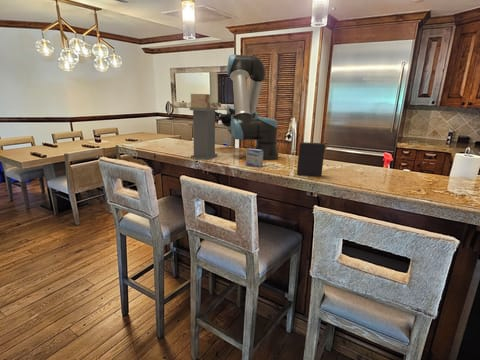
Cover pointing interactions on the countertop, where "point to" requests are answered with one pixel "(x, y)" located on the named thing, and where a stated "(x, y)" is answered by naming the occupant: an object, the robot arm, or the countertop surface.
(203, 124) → the grey tall block
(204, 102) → the mallet
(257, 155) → the medicine box
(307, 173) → the dark upright panel
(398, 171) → the countertop surface
